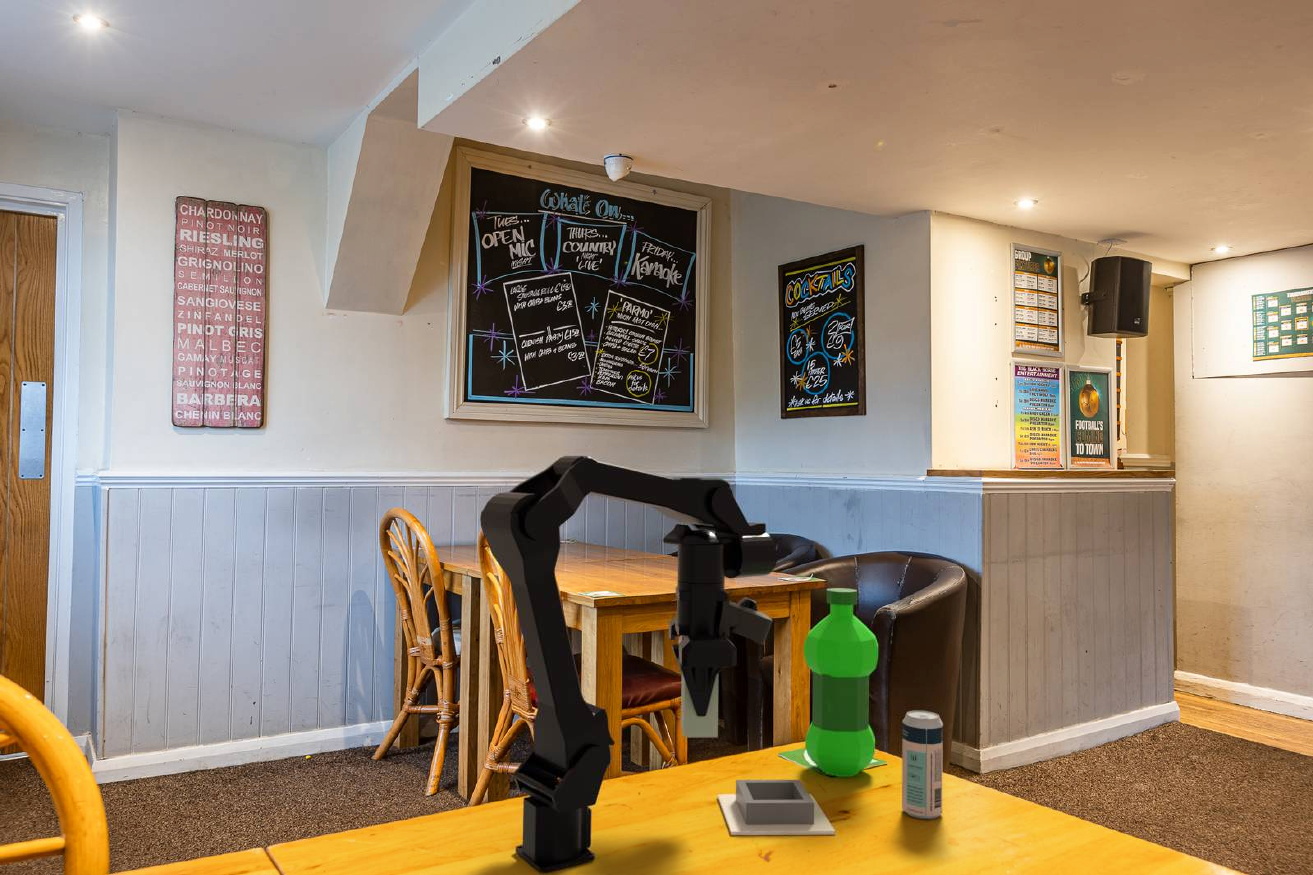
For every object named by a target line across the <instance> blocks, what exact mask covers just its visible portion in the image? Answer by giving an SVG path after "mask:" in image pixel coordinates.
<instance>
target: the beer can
mask: <svg viewBox="0 0 1313 875" xmlns="http://www.w3.org/2000/svg"><path fill="white" fill-rule="evenodd" d="M904 716H905V717H904V719H902V743H901V744H902V747H901V748H902V750H901V752H902V753H901V754H902V755H901V756H902V757H901V758H902V759H901V760H902V763H901V765H902V766H901V767H902V768H901V769H902V771H901V777H902V779H901V790H902V791H901V809H902V810H903V811H904V812H905V813H906V814H907V815H909V816H910V817H913V818H914V819H920V820H933V819H936V818H938V817H939V816H941V815H942V814H943V758H944V757H943V754H944V753H943V752H944V751H943V748H944V747H943V739H944V734H943V733H944V731H943V730H944V729H943V728H944V723H943V721H942V719H941V718H940V714H937V713H935V712H934V711H933V712H932V711H928V710H910V711H909V710H908V711H907V712H906V714H905V715H904Z"/></svg>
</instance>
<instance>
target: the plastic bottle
mask: <svg viewBox="0 0 1313 875" xmlns="http://www.w3.org/2000/svg"><path fill="white" fill-rule="evenodd" d="M826 603H827V604H829V606H830V607H829V608H830V610H829V611H830V612H829V614H828V615H827V616H826V617H824V618H823V619H822V620H821V621H819V622H818V623H817V624H816V625H815V626H813V628H812V629H810V630H809V632H808V633H807V637H806V638H805V641H804V644H803V655H804V656H803V657H804V660H805V664H806V666H807V667H809V670H811V671H812V712H811V713H812V717H811V718H812V721H811V723H810V725H809V727H808V730H807V733H806V736H805V739H804V740H805V751H806V754H807V756H808V757H809V758H810V760H811V762H813V763H814V764H815V765H816V766H817V767H818V768H819V769H820V771H821V770H822V771H821V772H823V773H824V772H825V775H828V774H829V776H834V775H835V776H834V777H841V778H842V777H844V778H845V777H854V776H857V775H859V772H861V771H863V770H864V769H865V768H866V767H868V766H869V765H870V764H871V762H872V760H873V759H874V756H875V753H876V737H875V735H874V732H873V729H872V728H871V726H870V724H869V708H870V706H869V705H870V704H869V702H870V701H869V700H870V699H869V696H870V695H869V694H870V693H869V691H870V690H869V689H870V688H869V687H870V684H869V683H870V675H871V674H872V673H873V672H874V671H875V670H876V669H877V664H878V661H879V660H878V659H879V643H878V640H877V637H876V635H875V634H874V633H873V632H872V631H871V630H870V629H869V628H868V627H867V625H865V624H864V623H863V622H862V621H861V620H860V619H858V618H857V616H855V615H854V605H857V603H858V590H857V589H853V588H844V587H833V588H827V589H826ZM830 774H831V775H830Z"/></svg>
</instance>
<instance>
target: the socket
mask: <svg viewBox="0 0 1313 875" xmlns="http://www.w3.org/2000/svg"><path fill="white" fill-rule="evenodd" d="M717 799H718V803H719V804H720V808H721V811H722V813H723V816H724V819H725V821H726V825H727V828H728V830H729V833H730V835H731V836H782V835H783V836H784V835H785V836H791V835H792V836H795V835H796V836H797V835H798V836H799V835H800V836H801V835H802V836H803V835H805V836H806V835H807V836H808V835H809V836H810V835H811V836H812V835H815V836H816V835H819V836H820V835H822V836H823V835H825V836H826V835H831V836H833V835H836V830H835V828H834V827H833V825H832V824H831V822H830V821H829V819H828V818H827V816H826V815H825V813H824V812H823V809H822V808H821V807H820V805H819V804H818V802H817V800H816V798H815V797H814V796H813V795H812V794H811V793H808V790H807V789H806V788H805V786H804V784H803V783H802V781H801V780H800V779H736V780H735V794H733V793H732V794H730V793H728V794H724V793H723V794H717Z"/></svg>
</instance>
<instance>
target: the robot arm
mask: <svg viewBox="0 0 1313 875" xmlns="http://www.w3.org/2000/svg"><path fill="white" fill-rule="evenodd" d="M588 495H591V496H597V497H601V498H604V499H605V498H606V499H611V500H617V501H622V502H626V503H631V504H636V505H641V506H645V507H649V508H652V509H655V510H657V511H658V512H660V513H661V514H662V515H663V516H666V517H668V518H670V519H673V520H675V521H677V522H680V524H679V523H677V524H675V526H674V528H673V529H672V530H671V531H669V533H667V534H666V535H665V536H664V537H663V539H662V541H663V544H668V545H675V546H677V582H676V583H677V586H675V596H676V601H677V602H676V615H675V616H674V617H673V618H671V620H670V621H668V637H669V638H668V639H669V640H670V641H676V637H678V643H677V644H676V643H675V644H674V643H673V644H672V645H671V649H672V652H673V654H674V657H675V659H676V663H677V666H678V668H679V671H680V673H681V675H682V674H683V677H684V680H685V683H686V686H687V689H688V691H689V694H690V697H691V700H692V703H693V706H694V709H695V712H696V715H697V716H706V714H707V710H708V706H709V702H710V698H711V694H712V690H713V686H714V683H715V679H716V676H717V674H718V675H719V674H720V673H721V672H722V671H723V670H724V669H725V668H733V667H737V666H738V665H737V664H738V662H737V659H738V657H737V654H738V649H737V647H736V646H735V645H734V644H733V642H732V641H731V640H729V638H728V637H730V636H731V632H732V633H734V634H737V635H740V636H742V637H744V638H748V639H750V640H752V641H753V642H754V643H756V644H759V645H765V643H766V641H767V637H768V634H769V631H770V629H771V626H772V623H773V619H772V618H771V617H770V616H768V615H766V614H765V613H763V612H761V611H758V605H757V602H756V600H752V599H750V598H748V597H745V596H744V597H742V598H741V599H740V600H739V601H738V602H734V601H730V594H729V593H728V592H727V590H725V588H726V587H725V584H726V583H725V580H726V579H739V578H752V577H763V576H764V577H765V576H768V575H770V574H771V573H772V572H773V570H775V567H776V565H777V563H778V556H779V555H778V550H777V548H776V544H775V542H774V540H773V538H772V537H771V536H770V534H768V533H767V525H766V522H764V523H763V522H755V521H754V522H748V520H747V518H746V517H745V516H744V513H743V511H742V509H741V508H740V505H739V503H738V502H737V501H736V498H735V497H734V494H733V490H732V488H731V484H730V483H729V482H728V481H727V480H725V479H724V478H721V477H699V476H698V477H696V476H695V477H693V476H665V475H662V474H657V473H653V472H648V471H645V470H640V469H636V468H631V467H626V466H622V465H617V464H614V463H610V462H605V461H602V460H597V459H595V458H593V457H592V456H589V455H564V456H561V457H559V458H558V459H557V460H556V461H554V462H553V463H552V464H550V465H549V466H547V468H545V469H544V470H542V471H540V472H538V473H536V474H534V475H533V476H531V477H529V478H527V479H526V480H524V481H521V482H520V483H519V484H517V485H516V486H514V487H513V488H512V489H511V490H509V491H506V492H499V493H497V494H496V495H493V496H492V497H491V498H490V499H489V500H488V501H487V502H486V504H485V506H484V507H483V509H482V510H481V512H480V527H481V531H482V534H483V535H484V538H485V541H486V543H487V545H488V548H489V550H490V553H491V554H492V557H493V558H494V559H495V561H496V562H497V563H498V565H499V567H500V568H501V569H502V570H503V572H504V574H505V575H506V577H507V578H508V581H509V583H510V587H511V590H512V591H511V592H512V595H513V600H514V603H515V608H516V612H517V617H518V621H519V625H520V631H521V634H522V638H523V643H524V647H525V651H526V655H527V659H528V660H527V661H528V664H529V668H530V673H531V677H532V682H533V686H534V689H535V690H534V691H535V694H536V698H537V704H538V705H537V710H536V715H535V718H534V721H533V722H534V723H533V726H532V733H533V736H532V737H533V748H531V750H530V751H529V753H528V754H527V755H526V757H525V758H524V759H523V761H522V762H521V763H520V765H518V767H517V768H516V769H515V771H514V772H513V779H514V782H515V785H516V788H517V790H518V791H519V792H520V793H524V794H526V795H528V796H527V797H523V804H522V806H523V807H522V808H523V809H522V844H519V845H517V846H515V853H516V854H518V855H519V856H520V857H521V858H523V859H524V860H525V861H526V863H528V864H530V865H531V866H532V867H533V868H535V869H536V870H537V871H538V872H540V873H547V872H550V871H554V870H558V869H562V868H566V867H570V866H574V865H578V864H582V863H586V862H590V861H594V860H595V859H596V854H595V853H594V852H593V851H592V850H590V847H591V846H592V817H593V816H592V815H593V814H592V809H591V808H590V807H592V806H594V805H596V804H597V800H598V797H599V794H600V791H601V787H602V783H603V780H604V777H605V773H606V772H607V769H608V767H609V766H610V765H611V764H612V750H611V746H615V744H616V742H615V740H613V738H612V736H611V733H610V730H609V729H610V728H609V718H608V714H607V711H606V709H605V708H602V707H599V706H597V705H594V704H592V703H590V702H587V701H586V700H585V697H584V696H583V693H582V689H581V684H580V679H579V675H578V670H577V666H576V662H575V658H574V653H573V649H572V643H571V640H570V635H569V631H568V627H567V626H568V625H567V623H566V622H567V621H566V617H565V613H564V612H565V611H564V610H563V605H562V600H561V595H560V591H559V590H560V589H559V586H558V583H557V582H558V581H557V579H556V578H557V577H556V566H557V563H558V558H559V554H560V551H561V546H562V544H561V530H560V529H561V526H562V525H563V524H564V523H565V522H567V521H568V520H569V519H570V518H571V517H572V516H574V515H575V514H576V512H577V511H578V509H579V507H580V506H581V504H582V502H583V501H584V499H585V498H586V497H587V496H588ZM681 523H682V524H681ZM688 524H689V525H690V526H692V527H693V528H694V529H692V528H691V527H690V526H689V525H688ZM713 532H714V533H713Z"/></svg>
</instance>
